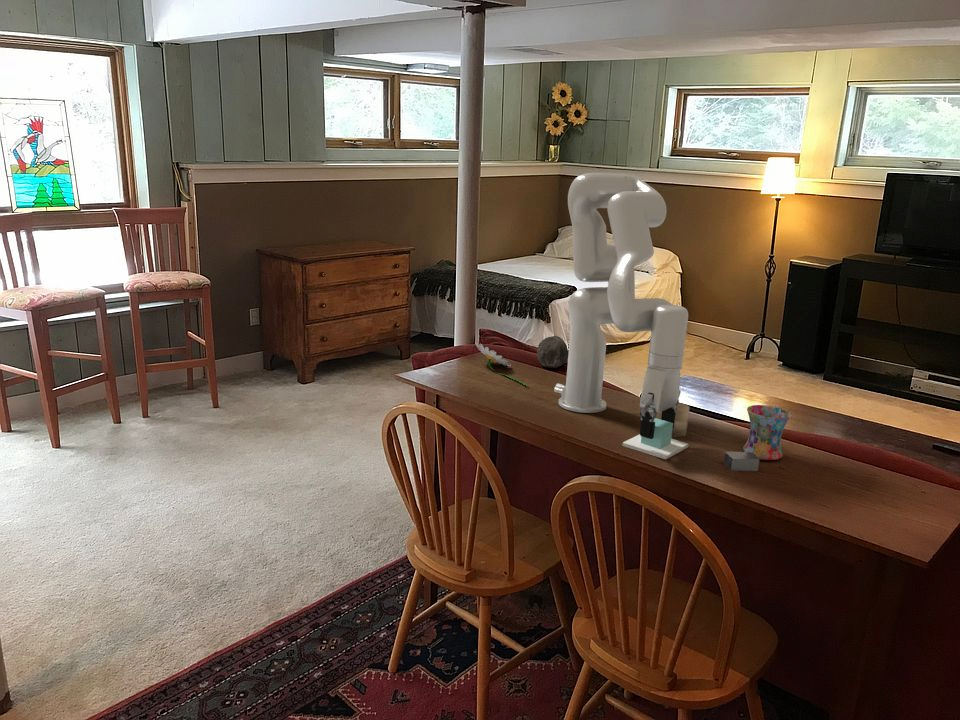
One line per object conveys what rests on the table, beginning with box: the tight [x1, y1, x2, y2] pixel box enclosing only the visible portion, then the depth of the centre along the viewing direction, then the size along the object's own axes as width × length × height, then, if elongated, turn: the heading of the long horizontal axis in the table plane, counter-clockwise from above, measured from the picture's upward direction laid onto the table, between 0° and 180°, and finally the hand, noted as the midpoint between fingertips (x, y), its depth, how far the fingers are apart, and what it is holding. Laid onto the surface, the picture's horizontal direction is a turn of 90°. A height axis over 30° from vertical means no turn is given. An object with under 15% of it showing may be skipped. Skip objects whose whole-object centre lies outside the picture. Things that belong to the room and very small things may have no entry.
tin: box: [722, 451, 760, 472], centre depth 165 cm, size 6×4×3 cm, turn 95°
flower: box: [475, 342, 528, 386], centre depth 227 cm, size 13×5×30 cm
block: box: [641, 417, 673, 449], centre depth 174 cm, size 5×5×5 cm
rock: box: [536, 335, 569, 369], centre depth 238 cm, size 10×11×10 cm
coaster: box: [621, 433, 689, 460], centre depth 175 cm, size 11×11×1 cm
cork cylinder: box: [672, 402, 690, 438], centre depth 184 cm, size 5×5×7 cm
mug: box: [742, 404, 792, 461], centre depth 172 cm, size 12×9×11 cm
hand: (657, 432), depth 174 cm, fingers open, 9 cm apart
